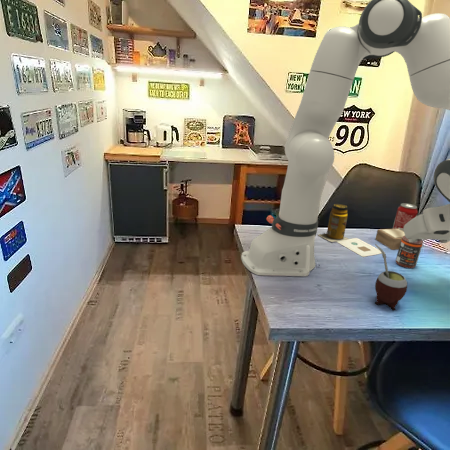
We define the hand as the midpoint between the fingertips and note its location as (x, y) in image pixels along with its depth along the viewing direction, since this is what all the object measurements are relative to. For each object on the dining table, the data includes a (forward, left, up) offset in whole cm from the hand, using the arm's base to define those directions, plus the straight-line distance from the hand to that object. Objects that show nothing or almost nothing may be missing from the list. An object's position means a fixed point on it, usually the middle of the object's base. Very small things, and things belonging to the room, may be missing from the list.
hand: (426, 240), depth 101 cm
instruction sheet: (-6, +20, -11) cm, 23 cm away
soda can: (+18, +28, -11) cm, 35 cm away
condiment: (-11, +29, -11) cm, 33 cm away
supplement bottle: (+1, +6, -11) cm, 13 cm away
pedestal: (+9, +21, -11) cm, 25 cm away
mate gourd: (-21, -12, -11) cm, 27 cm away
